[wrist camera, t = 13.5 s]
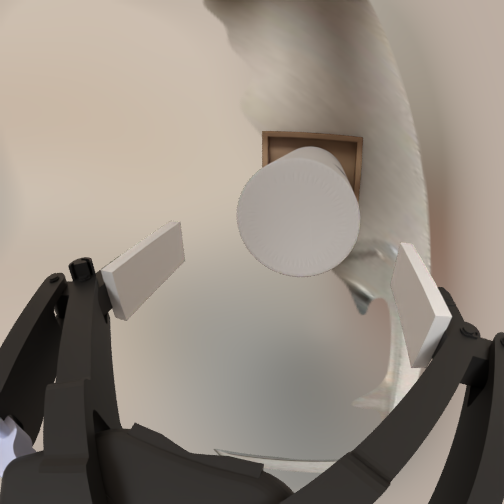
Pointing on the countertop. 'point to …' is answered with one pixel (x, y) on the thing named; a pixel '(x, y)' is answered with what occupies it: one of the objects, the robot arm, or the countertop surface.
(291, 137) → the stand
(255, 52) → the countertop surface
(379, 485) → the robot arm
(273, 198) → the container
